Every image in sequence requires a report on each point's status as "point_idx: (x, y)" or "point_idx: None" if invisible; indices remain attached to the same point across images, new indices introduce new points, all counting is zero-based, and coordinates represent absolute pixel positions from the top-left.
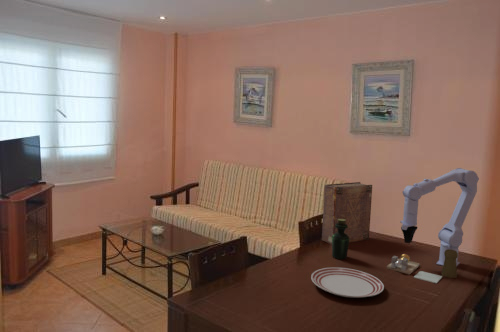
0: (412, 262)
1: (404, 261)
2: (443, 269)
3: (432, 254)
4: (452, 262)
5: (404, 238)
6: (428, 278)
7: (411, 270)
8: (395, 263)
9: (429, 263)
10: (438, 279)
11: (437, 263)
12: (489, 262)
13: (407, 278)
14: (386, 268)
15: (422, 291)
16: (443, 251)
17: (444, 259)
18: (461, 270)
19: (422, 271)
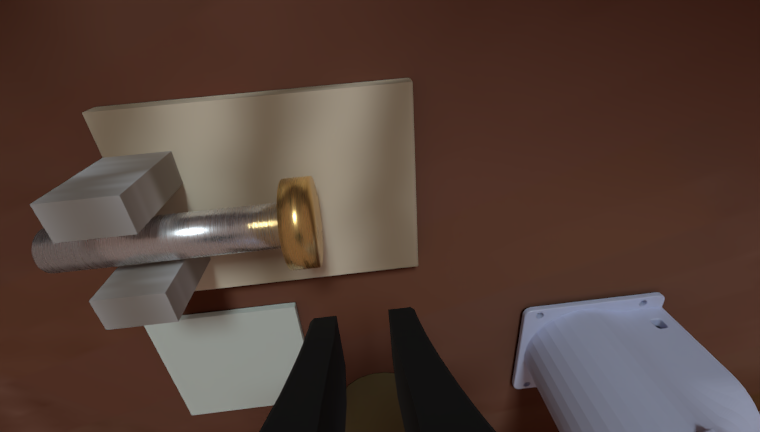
0: (398, 222)
1: (106, 313)
2: (354, 418)
3: (754, 214)
4: None
5: (291, 376)
6: (209, 376)
7: (212, 288)
8: (39, 244)
9: (516, 275)
10: (249, 404)
11: (525, 318)
12: None
13: None
14: (95, 108)
15: (10, 413)
16: (579, 421)
17: (542, 377)
18: (506, 404)
19: (294, 318)
